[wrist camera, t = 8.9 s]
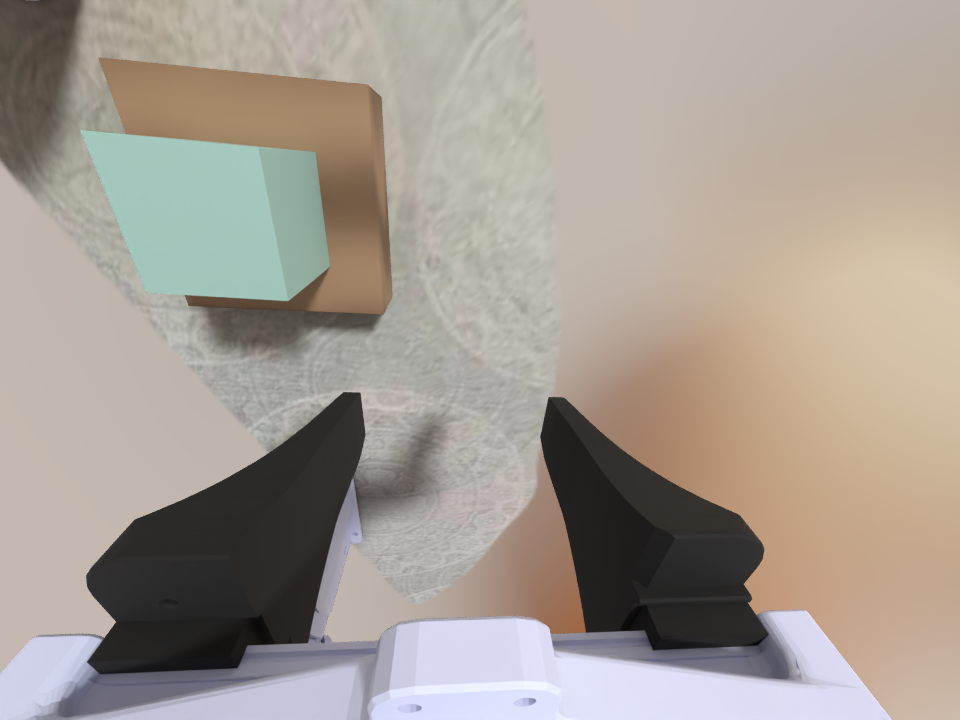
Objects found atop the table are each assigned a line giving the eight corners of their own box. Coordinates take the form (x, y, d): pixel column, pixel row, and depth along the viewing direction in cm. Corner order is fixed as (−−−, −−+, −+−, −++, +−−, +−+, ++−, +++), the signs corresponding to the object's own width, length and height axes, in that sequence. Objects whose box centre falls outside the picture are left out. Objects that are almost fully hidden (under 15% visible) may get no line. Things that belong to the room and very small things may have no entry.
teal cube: (329, 266, 17) (288, 300, 13) (225, 259, 17) (146, 292, 13) (315, 152, 15) (258, 147, 11) (192, 139, 15) (80, 130, 10)
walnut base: (392, 296, 22) (383, 314, 19) (222, 287, 21) (188, 305, 18) (381, 97, 17) (367, 84, 14) (157, 75, 16) (98, 57, 13)
